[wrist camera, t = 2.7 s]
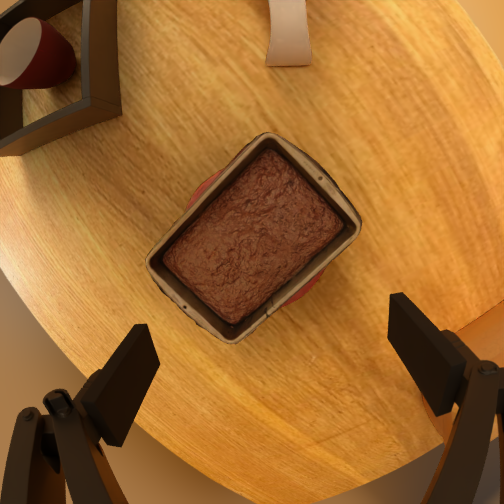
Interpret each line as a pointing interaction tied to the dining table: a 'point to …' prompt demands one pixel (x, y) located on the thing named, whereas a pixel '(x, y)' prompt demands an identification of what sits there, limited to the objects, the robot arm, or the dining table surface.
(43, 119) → the dark rectangular frame
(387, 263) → the dining table surface
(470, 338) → the bread
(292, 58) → the spoon rest
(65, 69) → the mug
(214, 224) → the baking dish
